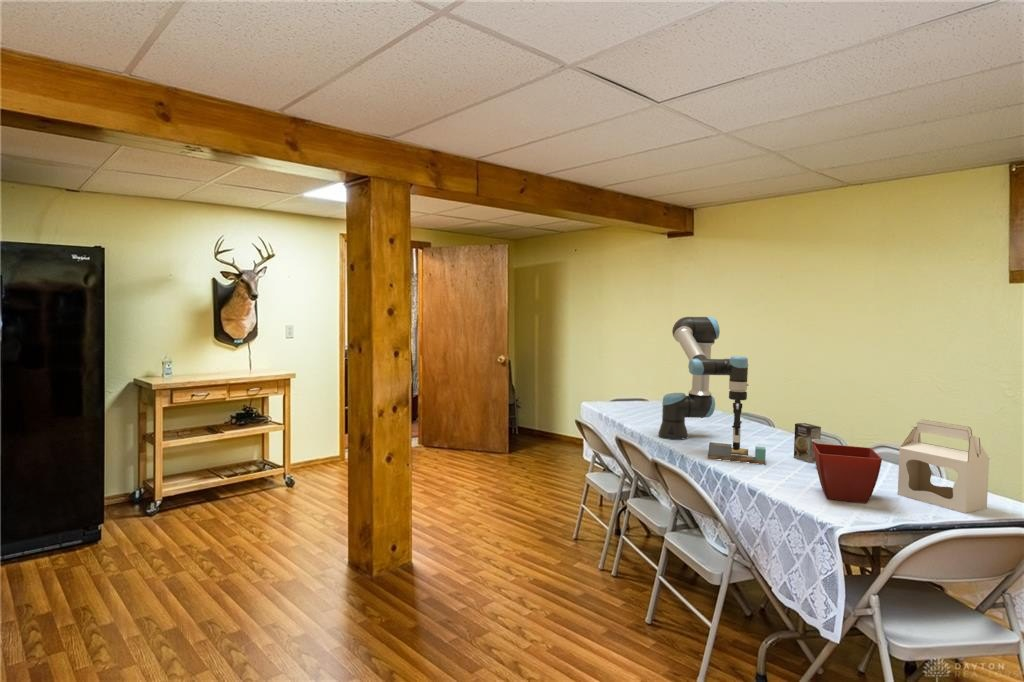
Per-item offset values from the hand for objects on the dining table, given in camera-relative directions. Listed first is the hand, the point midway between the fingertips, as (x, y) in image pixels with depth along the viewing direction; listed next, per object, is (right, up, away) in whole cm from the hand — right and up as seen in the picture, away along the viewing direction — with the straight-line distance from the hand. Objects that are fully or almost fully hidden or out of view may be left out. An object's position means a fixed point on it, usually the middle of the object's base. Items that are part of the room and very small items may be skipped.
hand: (736, 439), depth 254 cm
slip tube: (-2, -7, +1) cm, 7 cm away
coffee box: (+33, -10, +2) cm, 34 cm away
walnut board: (0, -9, 0) cm, 9 cm away
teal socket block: (+9, -8, -3) cm, 13 cm away
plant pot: (+19, -12, -50) cm, 55 cm away
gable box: (+51, -12, -54) cm, 75 cm away
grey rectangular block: (-6, -7, +3) cm, 10 cm away
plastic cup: (+33, -10, -13) cm, 37 cm away
